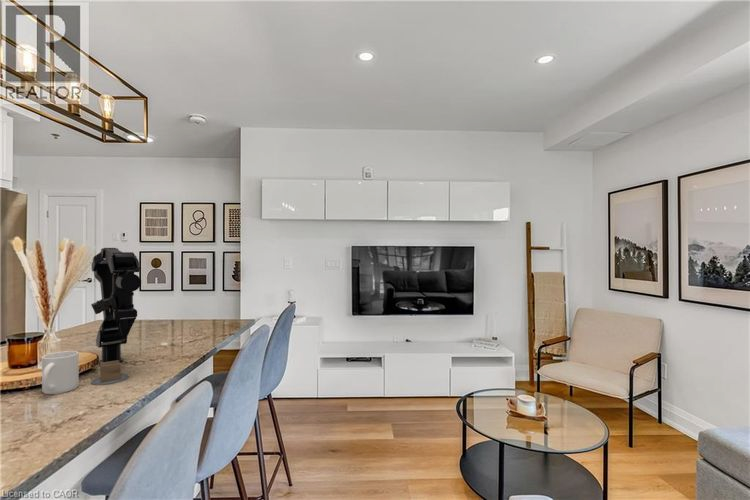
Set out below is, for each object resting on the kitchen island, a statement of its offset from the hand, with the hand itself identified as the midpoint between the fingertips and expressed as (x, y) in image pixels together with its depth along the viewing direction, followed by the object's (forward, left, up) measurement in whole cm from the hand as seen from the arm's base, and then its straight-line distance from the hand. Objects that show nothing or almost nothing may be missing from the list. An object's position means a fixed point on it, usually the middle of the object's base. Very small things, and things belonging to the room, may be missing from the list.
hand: (122, 335), depth 129 cm
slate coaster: (+7, -4, -12) cm, 14 cm away
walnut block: (+7, -4, -12) cm, 14 cm away
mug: (+10, -17, -12) cm, 23 cm away
